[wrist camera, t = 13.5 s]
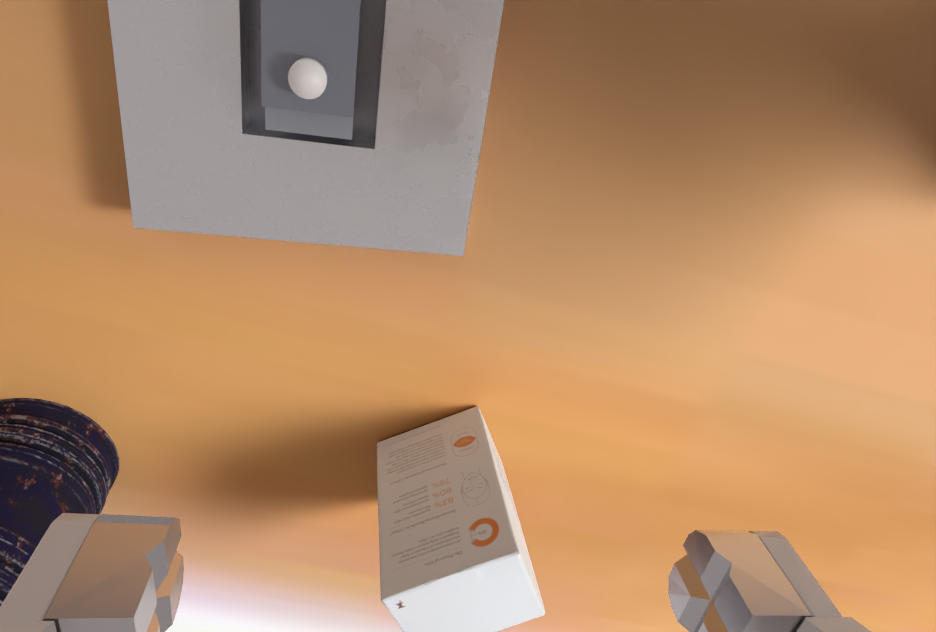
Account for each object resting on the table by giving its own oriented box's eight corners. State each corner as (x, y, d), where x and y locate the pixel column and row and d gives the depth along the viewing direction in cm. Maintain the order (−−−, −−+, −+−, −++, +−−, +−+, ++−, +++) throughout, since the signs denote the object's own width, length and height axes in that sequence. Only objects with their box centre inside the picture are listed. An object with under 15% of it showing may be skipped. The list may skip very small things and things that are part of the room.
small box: (406, 498, 47) (419, 662, 36) (374, 440, 44) (377, 601, 32) (504, 463, 47) (548, 617, 35) (479, 402, 43) (519, 551, 32)
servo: (366, -86, 28) (366, -100, 23) (353, 122, 33) (350, 149, 28) (277, -103, 27) (256, -121, 22) (276, 113, 32) (259, 138, 27)
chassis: (528, -223, 27) (542, -241, 25) (457, 239, 37) (463, 256, 35) (93, -332, 23) (65, -364, 21) (148, 211, 34) (133, 227, 31)
